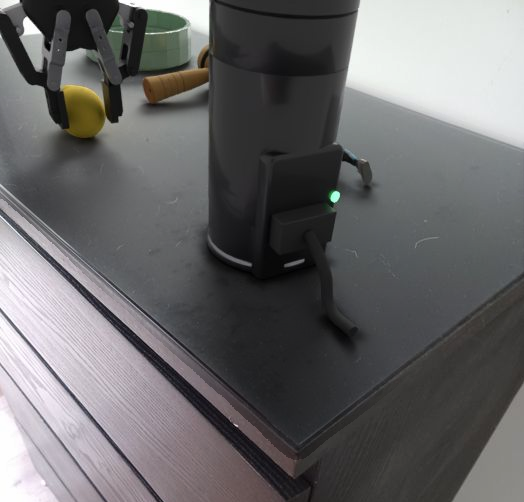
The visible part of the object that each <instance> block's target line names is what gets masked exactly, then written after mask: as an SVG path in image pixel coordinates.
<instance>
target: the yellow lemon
mask: <svg viewBox="0 0 524 502" xmlns="http://www.w3.org/2000/svg"><path fill="white" fill-rule="evenodd" d="M60 88H61V89H62V90H63V92H64V97H65V103H66V109H67V114H68V120H69V126H70V129H64V131H65V132H66V133H68V134H69V135H71V136H73V137H76V138H79V139H87V138H92V137H94V136H97V135H98V134H99V133H100V132H101V131H102V129H103V128H104V126H105V123H106V119H107V118H106V114H105V107H104V101H103V100H102V99H101V97H100V96H99V95H98V94H97V93H96V92H95V91H93V90H92V89H90V88H88V87H86V86H81V85H74V84H65V85H63V86H60Z"/></svg>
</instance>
